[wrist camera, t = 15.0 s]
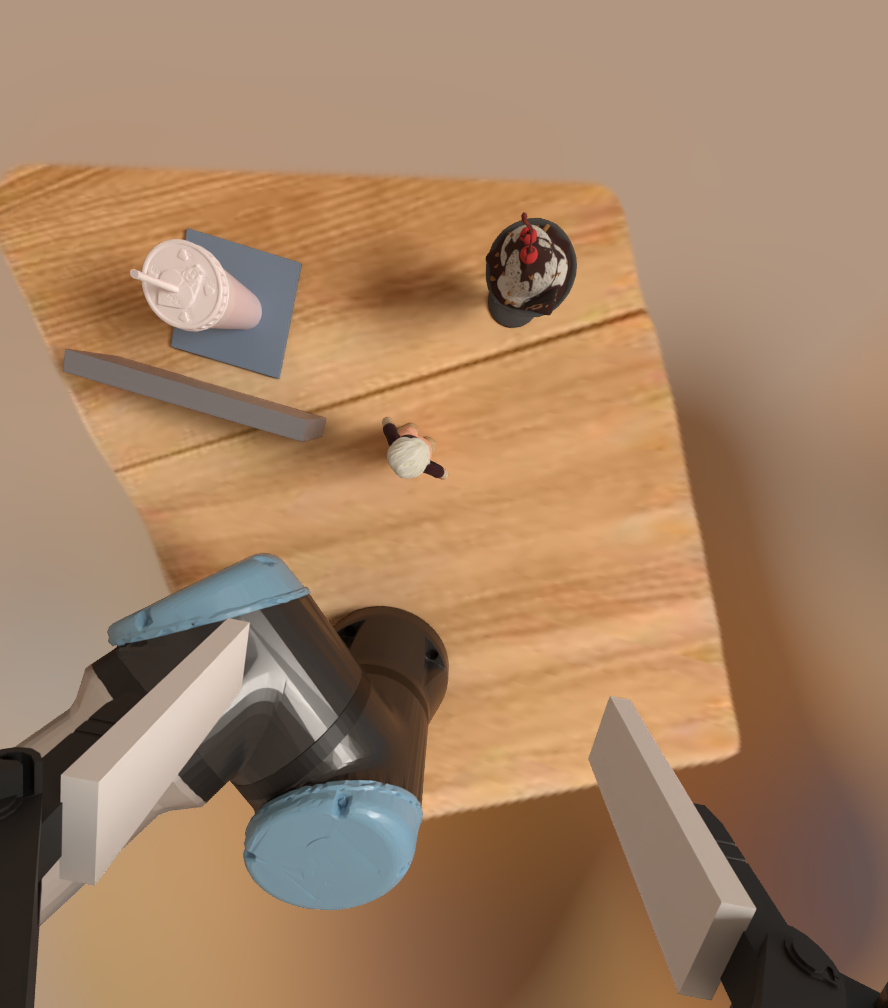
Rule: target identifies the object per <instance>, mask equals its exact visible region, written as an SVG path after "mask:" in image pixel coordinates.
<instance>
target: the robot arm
mask: <svg viewBox="0 0 888 1008" xmlns="http://www.w3.org/2000/svg"><path fill="white" fill-rule="evenodd" d="M309 593H310V590H309V589H308V588H307V587H304V586H303V585H302V584H301V582H300V581H299V580H298V579H297V577H296V576H295V575H294V574H293V572H292V571H291V570H290V569H289V568H288V566H287V565H286V564H285V563H284V561H283V560H281V559H280V558H279V557H277V556H275V555H273V554H269V553H259V554H255V555H252V556H250V557H247V558H245V559H243V560H241V561H239V562H237V563H235V564H233V565H231V566H229V567H226V568H224V569H222V570H220V571H218V572H216V573H214V574H212V575H210V576H208V577H206V578H204V579H202V580H200V581H198V582H196V583H194V584H192V585H190V586H188V587H186V588H183V589H181V590H179V591H177V592H175V593H173V594H171V595H169V596H167V597H165V598H163V599H161V600H159V601H157V602H155V603H153V604H151V605H149V606H147V607H145V608H144V609H141V610H139V611H137V612H135V613H133V614H131V615H129V616H127V617H125V618H123V619H121V620H119V621H117V622H116V623H113V624H112V625H111V626H110V627H109V629H108V635H109V640H108V642H109V643H110V644H111V645H112V646H114V645H117V647H116V648H115V649H114V650H112V651H111V652H109V653H108V654H106V655H105V656H103V657H102V658H100V659H99V660H97V661H96V662H94V663H93V664H91V665H90V666H88V667H87V668H86V669H85V673H84V676H83V679H82V682H81V685H80V688H79V691H78V694H77V698H76V700H75V701H74V703H73V704H72V706H71V708H70V709H68V710H67V711H65V712H64V713H63V714H61V715H60V716H58V717H57V718H55V719H54V720H53V721H51V722H50V723H48V724H47V725H46V726H44V727H43V728H41V729H40V730H38V731H37V732H35V733H34V734H33V735H31V736H30V737H28V738H27V739H26V740H24V741H23V742H21V743H20V744H18V745H17V746H16V747H13V748H7V749H1V750H0V1008H34V999H35V984H36V969H37V953H38V938H39V927H40V926H41V925H42V924H43V923H44V922H45V921H46V920H47V919H48V918H49V917H50V916H51V915H52V914H53V913H55V912H56V911H57V910H58V909H59V908H60V907H61V906H62V905H63V904H64V903H65V902H66V901H67V900H68V899H70V898H71V897H72V896H73V895H74V894H75V893H76V892H77V891H78V890H79V889H80V888H81V887H82V886H83V885H84V884H90V885H95V884H96V883H97V881H98V880H99V879H100V878H101V876H102V875H103V874H104V872H105V871H106V869H107V868H108V867H109V865H110V864H111V863H112V862H113V860H114V859H115V858H116V856H117V855H118V854H119V852H120V851H121V850H122V849H123V848H124V847H125V846H126V845H127V844H128V843H129V842H130V841H131V840H133V839H134V838H135V837H136V836H137V835H138V834H139V833H140V832H141V831H142V830H143V829H144V828H145V827H146V826H147V825H149V824H150V822H152V821H153V820H154V819H155V818H156V817H157V816H158V815H159V814H162V813H165V812H168V811H172V810H180V809H189V808H197V807H202V806H203V805H205V804H206V803H207V802H208V801H209V800H210V799H211V798H212V796H214V795H215V794H216V793H217V792H218V791H219V790H220V789H221V788H222V787H223V786H224V785H225V784H226V783H227V782H228V781H231V783H232V784H234V786H235V787H236V788H237V789H238V791H239V792H240V793H241V794H242V796H243V797H244V798H245V799H246V800H247V802H248V803H249V804H250V805H251V806H252V808H253V809H254V811H255V815H254V816H253V817H252V818H251V820H250V822H249V824H248V826H247V828H246V832H245V836H246V838H245V842H244V845H245V850H244V855H243V857H244V862H245V866H246V868H247V870H248V872H249V874H250V875H251V877H252V879H253V880H254V881H255V882H256V883H257V884H258V885H259V886H260V887H261V888H262V889H263V890H264V891H266V892H267V893H269V894H270V895H272V896H273V897H275V898H277V899H279V900H281V901H284V902H286V903H289V904H292V905H295V906H298V907H303V908H308V909H321V910H340V909H347V908H352V907H356V906H360V905H363V904H365V903H368V902H371V901H373V900H375V899H377V898H379V897H381V896H382V895H384V894H386V893H387V892H388V891H389V890H391V889H392V888H393V887H394V886H395V885H396V884H397V883H398V882H399V881H400V880H401V879H402V878H403V876H404V875H405V873H406V872H407V870H408V869H409V866H410V863H411V862H412V859H413V856H414V852H415V847H416V840H417V834H418V829H419V826H420V824H421V822H422V816H423V812H422V807H421V806H422V793H423V781H424V768H425V757H426V745H427V734H428V725H429V723H430V721H431V720H432V718H433V716H434V714H435V713H436V711H437V709H438V708H439V706H440V704H441V702H442V700H443V698H444V696H445V693H446V689H447V684H448V669H449V664H448V656H447V652H446V649H445V647H444V644H443V642H442V640H441V639H440V637H439V636H438V634H437V633H436V632H435V630H434V629H433V628H432V627H431V626H430V625H429V624H428V623H426V622H425V621H424V620H422V619H421V618H419V617H418V616H416V615H414V614H412V613H410V612H407V611H405V610H401V609H398V608H392V607H371V608H365V609H362V610H359V611H356V612H354V613H352V614H350V615H348V616H346V617H345V618H343V619H342V620H341V621H339V622H338V623H337V624H336V625H335V626H334V627H332V625H331V624H330V622H329V621H328V620H327V618H326V617H325V615H324V614H323V613H322V611H321V610H320V608H319V607H318V606H317V604H316V603H315V601H314V600H313V598H312V597H311V595H310V594H309ZM588 759H589V762H590V764H591V767H592V770H593V772H594V775H595V777H596V780H597V783H598V785H599V788H600V790H601V793H602V796H603V798H604V801H605V803H606V806H607V809H608V811H609V814H610V816H611V819H612V822H613V824H614V827H615V830H616V832H617V835H618V838H619V840H620V843H621V845H622V848H623V851H624V853H625V856H626V858H627V861H628V864H629V866H630V869H631V871H632V874H633V877H634V879H635V882H636V885H637V887H638V890H639V892H640V895H641V897H642V900H643V903H644V905H645V908H646V910H647V913H648V916H649V918H650V921H651V924H652V926H653V929H654V932H655V934H656V937H657V939H658V942H659V945H660V947H661V950H662V952H663V955H664V958H665V960H666V963H667V965H668V968H669V971H670V973H671V976H672V978H673V981H674V984H675V986H676V989H677V991H678V994H680V995H685V996H690V997H696V998H701V999H706V1000H712V998H713V996H714V994H715V992H716V990H717V988H718V986H719V984H720V982H721V981H722V983H723V986H724V988H725V990H726V992H727V994H728V996H729V999H730V1000H731V1003H732V1004H731V1006H730V1008H888V982H887V984H886V985H885V987H884V989H883V990H882V992H881V993H879V992H877V991H875V990H873V989H871V988H869V987H867V986H865V985H863V984H861V983H859V982H857V981H855V980H853V979H851V978H849V977H847V976H845V975H843V974H842V973H840V972H839V971H838V970H837V968H836V966H835V964H834V963H833V961H832V960H831V959H830V958H829V957H828V956H827V955H826V954H825V952H824V951H823V950H822V949H821V948H820V947H819V946H818V945H817V944H816V943H815V942H813V941H812V940H811V939H810V938H809V937H808V936H806V935H805V934H804V933H802V932H800V931H799V930H797V929H795V928H794V927H792V926H789V925H787V923H786V922H785V920H784V919H783V917H782V915H781V914H780V912H779V911H778V909H777V908H776V906H775V905H774V903H773V902H772V900H771V898H770V897H769V895H768V894H767V892H766V891H765V889H764V888H763V886H762V884H761V883H760V881H759V880H758V878H757V877H756V875H755V874H754V872H753V871H752V869H751V867H750V866H749V864H748V863H746V862H745V858H744V857H743V855H742V853H741V852H740V850H739V849H738V847H735V842H734V841H733V839H732V838H731V836H730V835H729V833H728V832H727V830H726V829H725V827H724V826H723V824H722V823H721V822H720V821H719V820H718V819H717V818H716V817H715V816H714V815H713V814H712V812H711V811H710V810H709V809H708V808H707V807H706V806H705V805H700V804H695V803H692V801H691V799H690V798H689V796H688V794H687V793H686V791H685V789H684V788H683V786H682V785H681V783H680V781H679V780H678V778H677V776H676V775H675V773H674V771H673V770H672V768H671V766H670V765H669V763H668V761H667V760H666V758H665V756H664V755H663V753H662V751H661V750H660V748H659V746H658V745H657V743H656V741H655V740H654V738H653V736H652V735H651V733H650V731H649V730H648V728H647V727H646V725H645V723H644V722H643V720H642V718H641V717H640V715H639V713H638V712H637V710H636V708H635V707H634V705H633V703H632V702H631V700H628V699H623V698H618V697H614V696H610V697H609V700H608V703H607V706H606V709H605V712H604V714H603V717H602V720H601V723H600V726H599V729H598V732H597V735H596V738H595V741H594V744H593V747H592V749H591V752H590V755H589V758H588Z"/></svg>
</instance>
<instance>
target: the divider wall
mask: <svg viewBox="0 0 888 1008" xmlns="http://www.w3.org/2000/svg"><path fill="white" fill-rule="evenodd" d="M63 372H66V373H70V374H73V375H77V376H80V377H84V378H87V379H90V380H94V381H97V382H101V383H104V384H107V385H111V386H114V387H118V388H121V389H124V390H128V391H131V392H135V393H138V394H141V395H145V396H148V397H152V398H155V399H158V400H162V401H165V402H169V403H172V404H175V405H179V406H182V407H186V408H189V409H192V410H196V411H199V412H203V413H206V414H209V415H213V416H216V417H220V418H223V419H226V420H230V421H233V422H237V423H240V424H243V425H247V426H250V427H254V428H257V429H260V430H264V431H267V432H271V433H274V434H277V435H281V436H284V437H288V438H291V439H294V440H298V441H301V442H303V441H307V440H311V439H315V438H319V437H322V436H323V431H324V427H325V422H326V418H324V417H321V416H318V415H314V414H311V413H308V412H304V411H301V410H298V409H294V408H291V407H287V406H284V405H281V404H277V403H274V402H271V401H267V400H264V399H260V398H257V397H254V396H250V395H247V394H244V393H240V392H237V391H233V390H230V389H227V388H223V387H220V386H217V385H213V384H210V383H206V382H203V381H200V380H196V379H193V378H190V377H186V376H183V375H179V374H176V373H173V372H169V371H166V370H163V369H159V368H156V367H152V366H149V365H146V364H142V363H139V362H136V361H132V360H129V359H125V358H122V357H119V356H113V355H106V354H98V353H91V352H84V351H77V350H70V349H65V356H64V369H63Z"/></svg>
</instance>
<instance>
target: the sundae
mask: <svg viewBox="0 0 888 1008" xmlns="http://www.w3.org/2000/svg"><path fill="white" fill-rule="evenodd" d="M521 217H522V220H521V221H518V222H516V223H514V224H512V225H510V226H509V227H507V228H506V229H504V230H503V231H502V232H501V233H500V234H499V236H498V237H497V238H496V240H495V241H494V243H493V244H492V247H491V249H490V252H489V253H488V254H487V256H486V282H487V286H488V290H489V292H490V293H489V301H488V302H489V309H490V312H491V314H492V316H493V318H494V319H495V320H496V321H497V322H498V323H500V324H501V325H503V326H506V327H509V328H516V327H521V326H523V325H525V324H527V323H528V322H530V321H531V320H532V319H533V317H540V316H543V315H550V314H551V313H552V311H553V310H554V309H556V308H557V307H558V306H559V305H560V304H561V303H562V302H563V301H564V299H565V298H566V297H567V295H568V294H569V292H570V290H571V288H572V286H573V283H574V280H575V277H576V269H577V262H576V255H575V251H574V248H573V246H572V243H571V241H570V240H569V238H568V236H567V235H566V233H565V232H564V231H563V230H562V229H561V228H560V227H559V226H558V225H557V224H555V223H553V222H551V221H549V220H545V219H542V218H529V219H527V214H526V213H523V214H522V215H521Z"/></svg>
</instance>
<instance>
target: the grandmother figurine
mask: <svg viewBox="0 0 888 1008" xmlns="http://www.w3.org/2000/svg"><path fill="white" fill-rule="evenodd" d="M382 425H383V432H384V434H385V436H386V438H387V440H388V444H389V446H390V447H389V449H388V453H387V460H388V464H389V465H390V467H391V468H392V469H393V471H394V472H395V473H396V474H397V475H398V476H399V477H401V478H405V479H409V478H415V477H418V476H419V475H420V474H421V473H422V472H423V473H426V474H429V475H432V476H433V477H435V478H440V479H446V478H447V477H448V471H447V470H446V469H444V468H443V467H442V466H441V465H439V464H437V463H435V462H433V461H431V460H430V459H431V455H432V453H433V451H434V449H435V447H436V443H435V441H434V440H433V439H432V438H430V437H424V438H423V437H421V436H420V435H419V429H418V427H417V426H416V425H415V424H413V423H409V424H407V425H405V426H403V427H401V428H399V429H396V427H395V425H394V423H393V420H392V418H390V417H385V418H384V419H383V420H382Z"/></svg>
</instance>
